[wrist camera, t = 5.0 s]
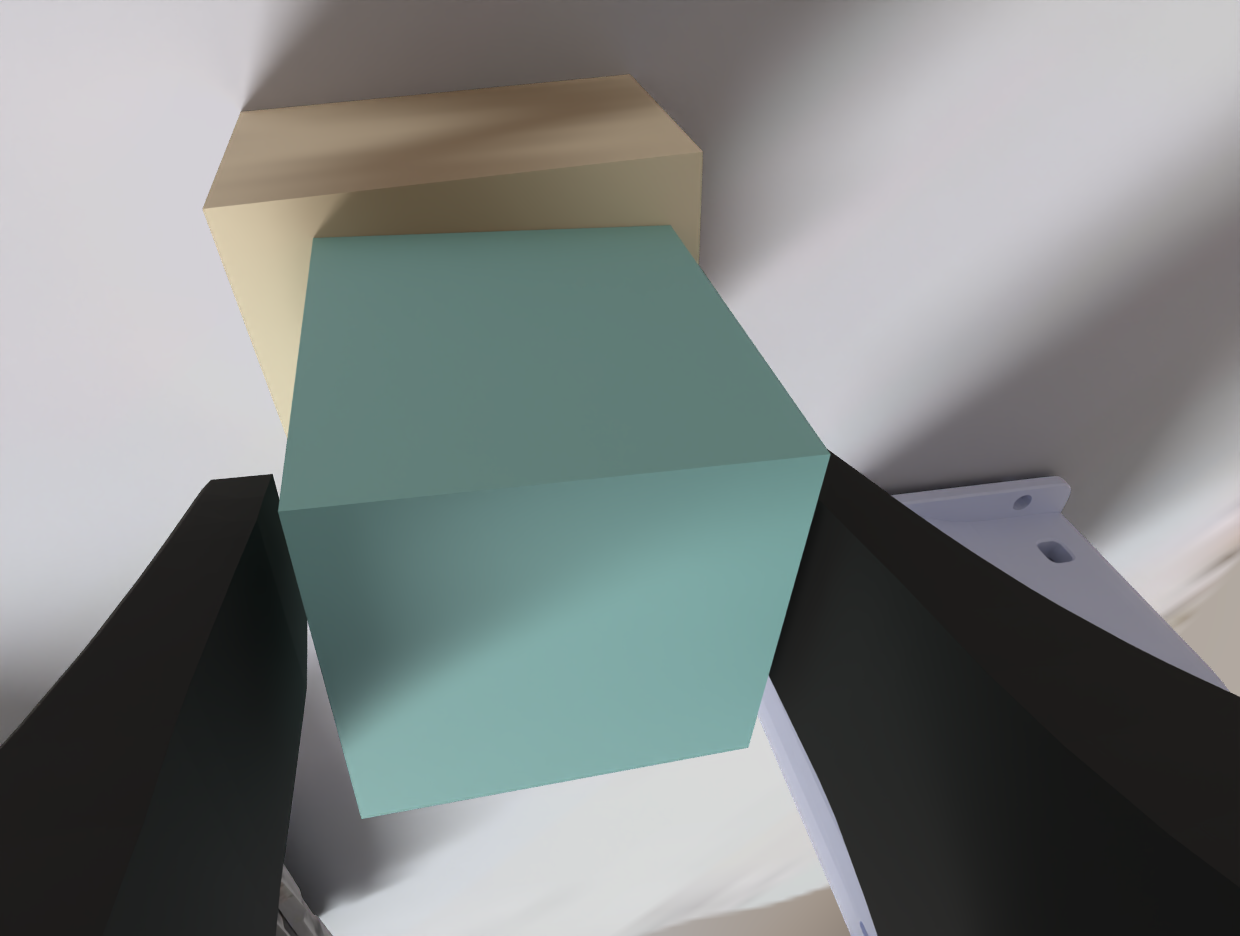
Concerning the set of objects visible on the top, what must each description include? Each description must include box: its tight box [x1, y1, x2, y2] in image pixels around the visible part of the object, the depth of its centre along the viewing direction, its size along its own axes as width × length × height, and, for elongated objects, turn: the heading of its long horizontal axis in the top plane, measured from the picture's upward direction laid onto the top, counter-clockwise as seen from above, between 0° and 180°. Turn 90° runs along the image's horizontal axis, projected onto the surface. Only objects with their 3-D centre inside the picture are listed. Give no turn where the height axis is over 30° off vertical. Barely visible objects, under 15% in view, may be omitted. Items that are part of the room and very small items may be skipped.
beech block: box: [203, 74, 703, 438], centre depth 13 cm, size 6×6×4 cm
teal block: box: [278, 225, 830, 819], centre depth 10 cm, size 4×4×5 cm
